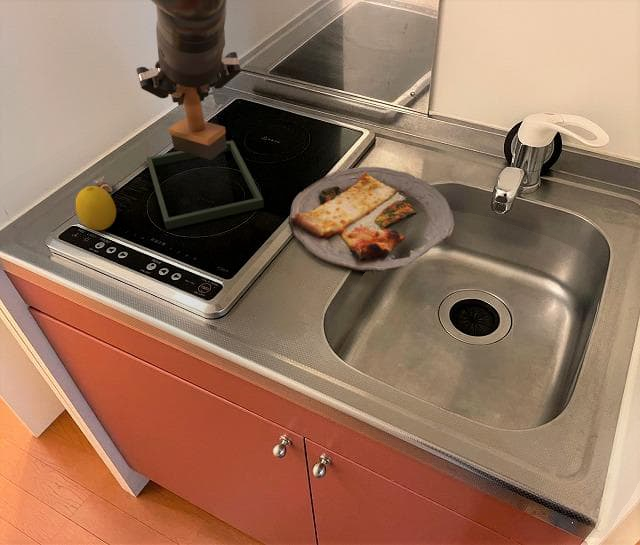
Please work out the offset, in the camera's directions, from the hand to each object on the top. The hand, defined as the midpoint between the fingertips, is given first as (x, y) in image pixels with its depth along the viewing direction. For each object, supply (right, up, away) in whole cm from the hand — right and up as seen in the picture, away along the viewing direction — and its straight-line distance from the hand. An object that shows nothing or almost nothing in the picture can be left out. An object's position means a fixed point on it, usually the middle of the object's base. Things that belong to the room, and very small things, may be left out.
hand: (189, 96), depth 83 cm
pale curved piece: (-17, -13, +13) cm, 25 cm away
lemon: (-15, -19, +7) cm, 25 cm away
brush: (+1, -7, +4) cm, 8 cm away
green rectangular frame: (-1, -11, +14) cm, 18 cm away
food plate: (+27, -18, +7) cm, 33 cm away
